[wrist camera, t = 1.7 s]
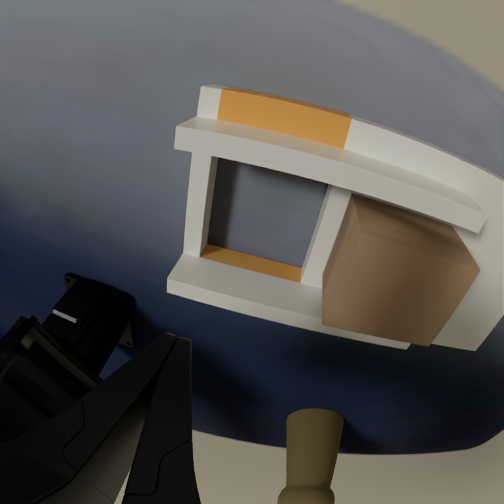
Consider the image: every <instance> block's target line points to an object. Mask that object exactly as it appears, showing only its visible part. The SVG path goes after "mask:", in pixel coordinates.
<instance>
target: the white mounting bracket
mask: <svg viewBox="0 0 504 504" xmlns="http://www.w3.org/2000/svg"><path fill="white" fill-rule="evenodd" d="M174 149H178V150H183V151H189V152H192V160H191V169H190V179H189V189H188V200H187V211H186V223H185V236H184V251H183V254H182V256H181V257H180V259H179V260H178V262H177V264H176V265H175V267H174V268H173V270H172V271H171V273H170V275H169V276H168V278H167V292H168V293H171V294H175V295H178V296H181V297H185V298H188V299H192V300H195V301H199V302H202V303H206V304H210V305H213V306H217V307H220V308H224V309H228V310H232V311H235V312H239V313H243V314H247V315H251V316H255V317H258V318H262V319H266V320H270V321H274V322H279V323H283V324H287V325H291V326H295V327H299V328H304V329H308V330H312V331H317V332H321V333H326V334H330V335H335V336H340V337H344V338H349V339H354V340H359V341H364V342H369V343H374V344H379V345H384V346H389V347H395V348H400V349H406V350H407V348H408V347H409V346H410V344H411V343H406V342H401V341H395V340H390V339H385V338H380V337H375V336H370V335H366V334H361V333H356V332H351V331H347V330H342V329H338V328H333V327H329V326H324V325H321V324H322V274H323V271H324V268H325V266H326V263H327V260H328V258H329V255H330V252H331V250H332V247H333V244H334V242H335V239H336V236H337V233H338V231H339V228H340V225H341V222H342V219H343V216H344V214H345V211H346V208H347V205H348V202H349V199H350V196H351V193H353V194H356V195H360V196H363V197H366V198H370V199H373V200H376V201H380V202H383V203H386V204H389V205H392V206H395V207H398V208H401V209H404V210H407V211H410V212H413V213H416V214H419V215H422V216H425V217H428V218H431V219H434V220H436V221H439V222H442V223H445V224H448V225H450V226H453V228H454V229H455V231H456V232H457V234H458V235H459V237H460V238H461V240H462V241H463V243H464V244H465V246H466V247H467V249H468V250H469V252H470V254H471V255H472V257H473V258H474V260H475V262H476V263H477V265H478V266H479V268H480V272H479V274H478V275H477V277H476V279H475V280H474V282H473V283H472V285H471V287H470V288H469V290H468V291H467V293H466V295H465V296H464V298H463V299H462V301H461V302H460V304H459V305H458V307H457V308H456V310H455V311H454V313H453V314H452V316H451V317H450V318H449V320H448V321H447V323H446V324H445V326H444V327H443V328H442V330H441V331H440V332H439V334H438V335H437V336H436V338H435V339H434V340H433V342H432V343H431V344H436V345H442V346H447V347H453V348H459V349H465V350H471V351H476V350H477V348H478V347H479V346H480V345H481V344H482V342H483V341H484V340H485V339H486V337H487V336H488V335H489V334H490V332H491V331H492V330H493V328H494V327H495V326H496V324H497V323H498V322H499V320H500V319H501V318H502V316H503V315H504V178H503V177H501V176H499V175H497V174H495V173H493V172H492V171H490V170H488V169H486V168H484V167H482V166H480V165H478V164H476V163H473V162H471V161H469V160H467V159H465V158H463V157H461V156H459V155H456V154H454V153H452V152H450V151H447V150H445V149H443V148H440V147H438V146H436V145H433V144H431V143H428V142H426V141H424V140H421V139H419V138H416V137H413V136H411V135H408V134H406V133H403V132H400V131H397V130H395V129H392V128H389V127H386V126H383V125H380V124H377V123H374V122H371V121H368V120H365V119H362V118H359V117H356V116H352V115H349V114H346V113H342V112H339V111H335V110H332V109H328V108H325V107H321V106H317V105H313V104H309V103H305V102H301V101H297V100H293V99H288V98H284V97H279V96H275V95H270V94H265V93H260V92H255V91H249V90H244V89H238V88H232V87H225V86H219V85H212V84H210V85H205V86H201V91H200V98H199V105H198V112H197V116H196V117H194V118H192V119H190V120H188V121H186V122H184V123H182V124H179V125H177V126H176V134H175V144H174ZM218 157H220V158H224V159H229V160H234V161H239V162H243V163H248V164H252V165H256V166H261V167H265V168H269V169H274V170H278V171H282V172H286V173H290V174H294V175H298V176H302V177H305V178H309V179H313V180H317V181H320V182H324V183H328V184H329V185H328V188H327V191H326V194H325V198H324V201H323V204H322V208H321V211H320V214H319V217H318V220H317V223H316V227H315V230H314V233H313V236H312V239H311V242H310V245H309V248H308V251H307V254H306V257H305V260H304V263H303V266H302V268H300V267H296V266H292V265H288V264H284V263H280V262H277V261H273V260H269V259H265V258H261V257H257V256H253V255H249V254H245V253H241V252H237V251H233V250H229V249H225V248H222V247H218V246H214V245H210V244H207V239H208V231H209V223H210V215H211V207H212V200H213V192H214V185H215V178H216V171H217V164H218Z"/></svg>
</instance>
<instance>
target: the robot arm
mask: <svg viewBox="0 0 504 504" xmlns="http://www.w3.org/2000/svg"><path fill="white" fill-rule="evenodd" d="M64 282H65V286H66V290H67V292H66V293H65V294H64V295H63V296H62V298H61V299H60V300H59V301H58V302H57V304H56V305H55V306H54V307H53V308H52V310H51V311H52V313H51V314H50V315H49V316H48V317H47V319H46V320H45V321H44V322H43V324H42V325H41V324H40V323H39V322H38V321H37V320H38V319H37V318H36V317H35V316H34V315H32V317H31V318H30V319H28V318H25V317H23V316H21V317H20V318H19V319H18V320H17V322H16V323H15V324H14V325H13V326H12V328H11V329H10V330H9V331H8V332H7V333H6V334H5V335H4V336H3V338H2V339H1V340H0V504H114V502H115V500H116V498H117V496H118V494H119V492H120V490H121V487H122V485H123V483H124V481H125V479H126V477H127V475H128V472H129V470H130V468H131V470H130V474H129V478H128V481H127V485H126V489H125V493H124V494H125V495H124V497H123V500H122V503H121V504H201V502H200V497H199V493H198V489H197V483H196V478H195V472H194V462H193V445H192V401H191V360H192V341H191V340H190V339H187V338H183V337H179V338H178V336H176V335H174V334H170V333H164V334H162V335H161V336H160V337H158V338H157V339H156V340H155V341H153V342H152V343H151V344H149V345H148V346H147V347H146V348H144V349H143V350H142V351H141V352H139V353H138V354H137V355H135V356H134V357H133V358H132V359H130V360H129V361H128V362H126V363H125V364H124V365H123V366H121V367H120V368H119V369H117V370H116V371H115V372H114V373H112V374H111V375H110V376H108V377H107V378H106V379H104V380H102V379H101V378H100V377H99V374H100V372H101V371H102V369H103V367H104V366H105V364H106V362H107V360H108V359H109V357H110V355H111V354H112V352H113V350H114V349H115V347H116V345H117V344H118V343H120V344H123V345H126V346H128V347H133V345H134V344H135V339H134V332H133V324H132V316H131V307H130V298H129V296H128V295H127V294H126V293H124V292H122V291H119V290H116V289H113V288H110V287H107V286H104V285H101V284H98V283H95V282H93V281H90V280H87V279H84V278H82V277H79V276H76V275H73V274H71V273H67V274H66V275H65V276H64ZM21 341H22V342H23V343H24V344H25V345H26V346H27V347H28V349H26V348H25V347H24V346H23V345H22V344H21V343H20V342H21Z"/></svg>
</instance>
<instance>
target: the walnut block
mask: <svg viewBox="0 0 504 504" xmlns="http://www.w3.org/2000/svg"><path fill="white" fill-rule="evenodd" d="M479 272H480V268H479V266H478V265H477V263H476V262H475V260H474V258H473V257H472V255H471V254H470V252H469V250H468V249H467V247H466V246H465V244H464V243H463V241H462V240H461V238H460V237H459V235H458V234H457V232H456V231H455V229H454V228H453V226H450V225H448V224H445V223H442V222H439V221H436V220H434V219H431V218H428V217H425V216H422V215H419V214H416V213H413V212H410V211H407V210H404V209H401V208H398V207H395V206H392V205H389V204H386V203H383V202H380V201H376V200H373V199H370V198H366V197H363V196H360V195H356V194H353V193H351V196H350V199H349V202H348V205H347V208H346V211H345V214H344V216H343V219H342V222H341V225H340V228H339V231H338V233H337V236H336V239H335V242H334V244H333V247H332V250H331V252H330V255H329V258H328V260H327V263H326V266H325V268H324V271H323V274H322V324H321V325H324V326H329V327H333V328H338V329H342V330H347V331H351V332H356V333H361V334H366V335H370V336H375V337H380V338H385V339H390V340H395V341H401V342H406V343H411V344H417V345H422V346H428V347H429V346H430V344H431V343H432V342H433V340H434V339H435V338H436V336H437V335H438V334H439V332H440V331H441V330H442V328H443V327H444V326H445V324H446V323H447V321H448V320H449V318H450V317H451V316H452V314H453V313H454V311H455V310H456V308H457V307H458V305H459V304H460V302H461V301H462V299H463V298H464V296H465V295H466V293H467V291H468V290H469V288H470V287H471V285H472V283H473V282H474V280H475V279H476V277H477V275H478V274H479Z"/></svg>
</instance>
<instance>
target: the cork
mask: <svg viewBox="0 0 504 504" xmlns="http://www.w3.org/2000/svg"><path fill="white" fill-rule="evenodd" d="M343 424H344V419H343V417H342V416H341V415H340V414H338V413H336V412H334V411H331V410H327V409H319V408H314V409H303V410H298V411H296V412H293V413H292V414H290V415H289V416H288V418H287V481H286V482H287V484H286V487H285V488H284V489H283V490H282V491H281V493H280V495H279V497H278V502H277V503H278V504H334V501H335V498H334V493H333V491H332V490H331V489H330V485H331V480H332V477H333V473H334V468H335V464H336V459H337V454H338V450H339V445H340V440H341V434H342V429H343Z"/></svg>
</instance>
